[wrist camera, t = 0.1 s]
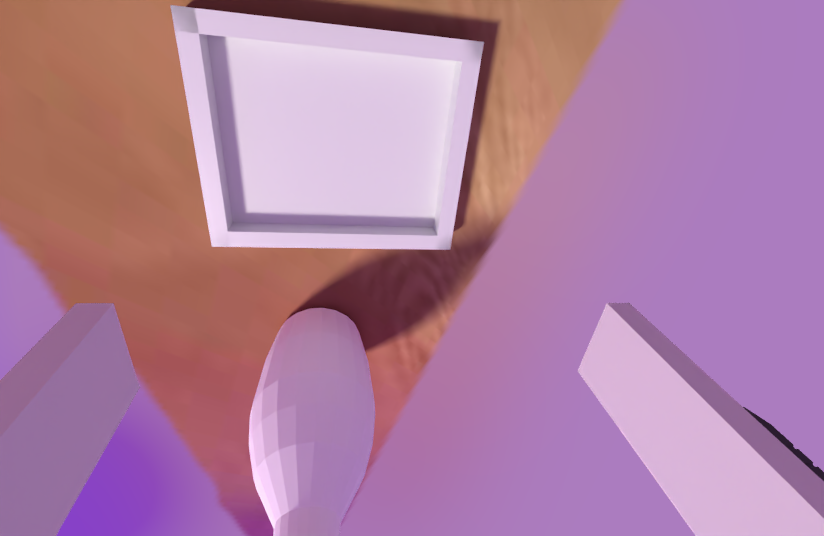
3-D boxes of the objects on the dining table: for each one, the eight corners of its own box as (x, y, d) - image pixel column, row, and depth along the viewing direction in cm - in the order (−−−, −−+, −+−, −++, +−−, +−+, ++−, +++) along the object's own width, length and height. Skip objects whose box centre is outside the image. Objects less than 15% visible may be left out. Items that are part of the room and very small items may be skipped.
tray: (184, 7, 29) (170, 4, 26) (473, 41, 33) (483, 41, 30) (219, 233, 37) (211, 246, 35) (443, 237, 41) (450, 249, 39)
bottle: (375, 361, 49) (405, 620, 27) (285, 380, 48) (242, 663, 26) (357, 288, 43) (377, 543, 21) (254, 308, 42) (166, 594, 21)
